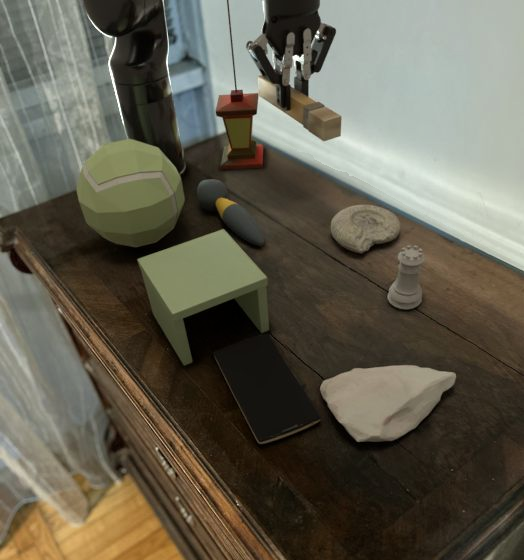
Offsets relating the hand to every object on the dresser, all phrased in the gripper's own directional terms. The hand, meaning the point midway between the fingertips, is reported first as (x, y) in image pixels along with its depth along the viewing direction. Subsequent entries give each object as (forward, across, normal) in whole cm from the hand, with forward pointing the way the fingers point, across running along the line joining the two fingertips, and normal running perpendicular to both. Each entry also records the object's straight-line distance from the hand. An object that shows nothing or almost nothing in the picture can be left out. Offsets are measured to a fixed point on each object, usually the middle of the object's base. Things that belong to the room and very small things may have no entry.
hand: (292, 106), depth 82 cm
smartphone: (+15, -24, -34) cm, 45 cm away
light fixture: (+16, -1, +18) cm, 24 cm away
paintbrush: (+16, -12, 0) cm, 20 cm away
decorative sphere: (+16, -26, +4) cm, 31 cm away
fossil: (+15, +3, -15) cm, 22 cm away
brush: (+1, 0, 0) cm, 1 cm away
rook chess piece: (+15, -1, -30) cm, 34 cm away
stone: (+15, -13, -43) cm, 48 cm away
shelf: (+15, -25, -20) cm, 36 cm away
